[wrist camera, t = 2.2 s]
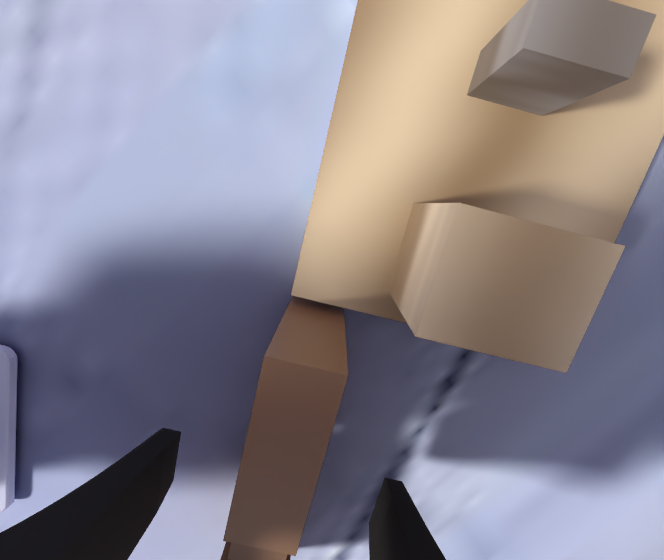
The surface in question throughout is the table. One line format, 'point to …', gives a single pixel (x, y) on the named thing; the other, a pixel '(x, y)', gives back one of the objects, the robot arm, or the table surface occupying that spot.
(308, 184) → the table surface
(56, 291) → the table surface
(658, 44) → the stand
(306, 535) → the table surface
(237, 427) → the table surface
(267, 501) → the brown bar
